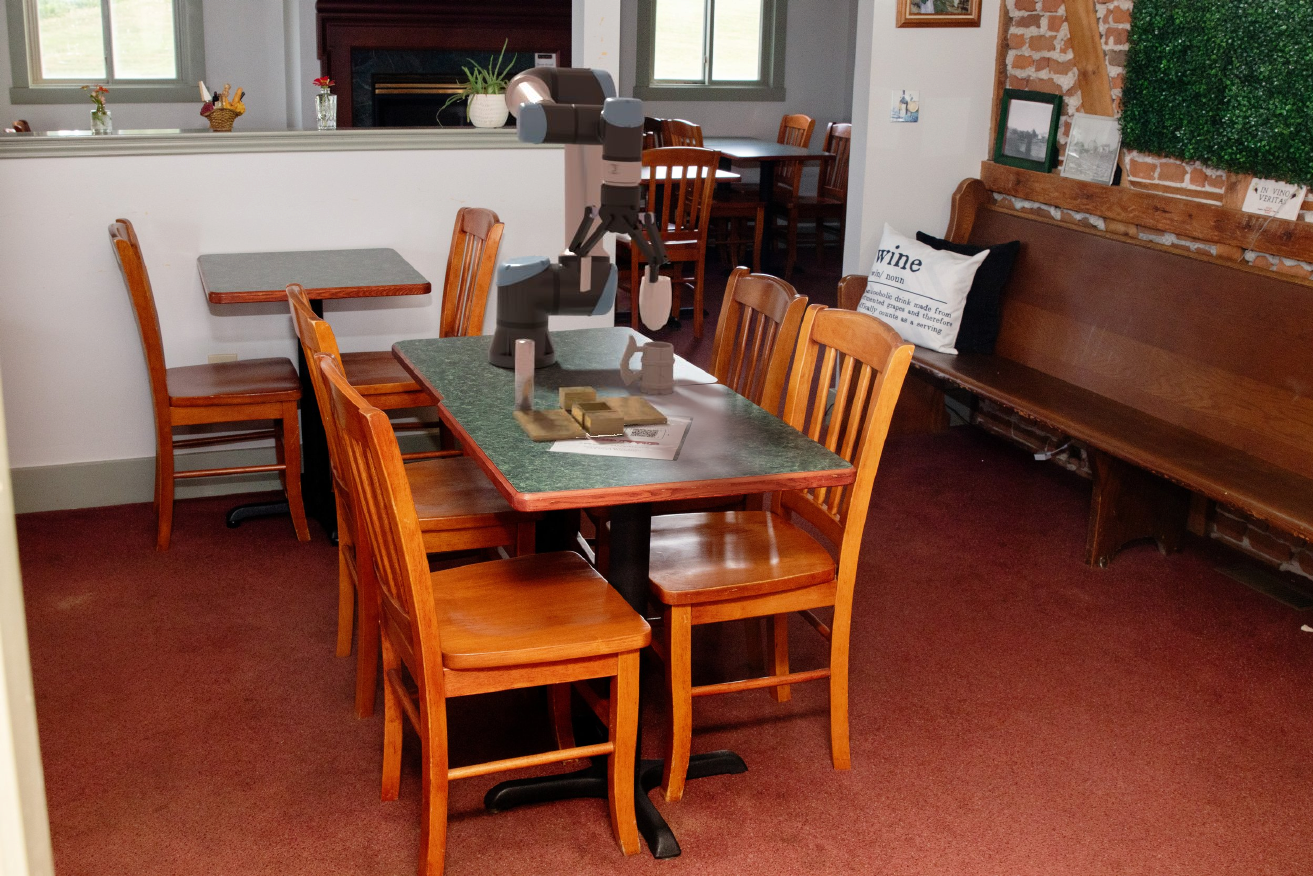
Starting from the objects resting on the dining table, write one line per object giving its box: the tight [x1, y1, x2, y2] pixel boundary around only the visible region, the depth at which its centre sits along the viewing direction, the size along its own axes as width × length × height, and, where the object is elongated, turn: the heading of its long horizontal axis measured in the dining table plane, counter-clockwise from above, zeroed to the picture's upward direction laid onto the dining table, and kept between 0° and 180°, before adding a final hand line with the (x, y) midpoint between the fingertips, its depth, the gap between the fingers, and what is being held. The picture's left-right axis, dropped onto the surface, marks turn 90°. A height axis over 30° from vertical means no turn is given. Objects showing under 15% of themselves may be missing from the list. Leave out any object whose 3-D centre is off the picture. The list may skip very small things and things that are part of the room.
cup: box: [638, 275, 672, 331], centre depth 275 cm, size 7×7×21 cm
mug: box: [619, 334, 676, 396], centre depth 258 cm, size 8×12×12 cm, turn 103°
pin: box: [514, 339, 535, 411], centre depth 239 cm, size 4×4×14 cm
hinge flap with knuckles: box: [558, 385, 668, 425], centre depth 241 cm, size 16×17×4 cm
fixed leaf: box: [512, 401, 625, 442], centre depth 232 cm, size 16×17×4 cm
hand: (616, 295), depth 239 cm, fingers open, 13 cm apart
